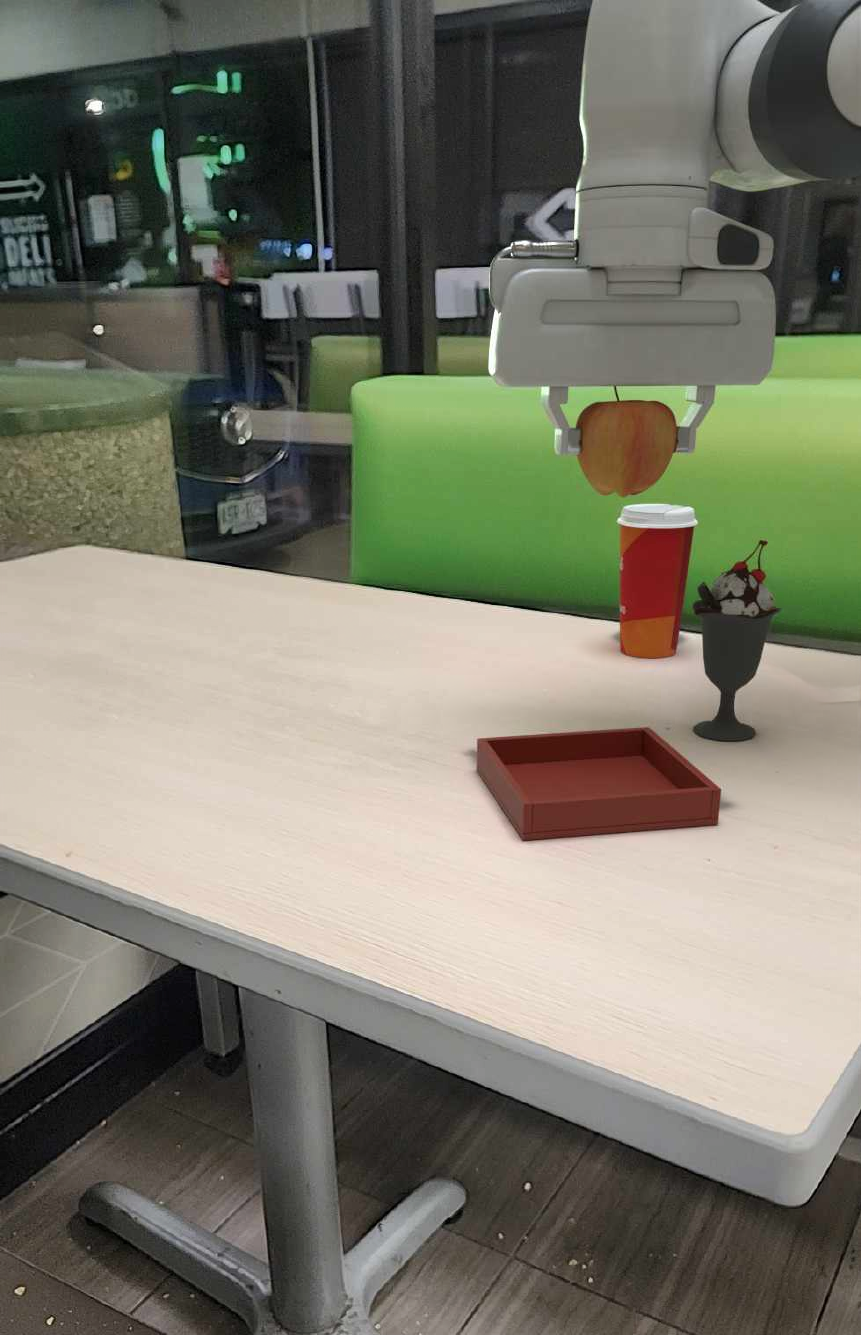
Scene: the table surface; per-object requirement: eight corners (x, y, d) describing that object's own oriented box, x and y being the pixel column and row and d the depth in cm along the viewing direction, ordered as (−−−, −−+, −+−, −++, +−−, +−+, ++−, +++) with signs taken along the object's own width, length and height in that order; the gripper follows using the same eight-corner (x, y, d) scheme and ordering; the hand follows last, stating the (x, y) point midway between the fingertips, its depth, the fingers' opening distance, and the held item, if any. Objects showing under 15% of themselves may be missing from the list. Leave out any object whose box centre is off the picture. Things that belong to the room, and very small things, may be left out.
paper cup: (644, 638, 122) (653, 500, 117) (702, 652, 117) (715, 508, 111) (592, 650, 118) (600, 507, 112) (651, 665, 112) (662, 516, 107)
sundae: (776, 726, 95) (799, 538, 89) (752, 750, 90) (774, 552, 84) (698, 714, 98) (714, 532, 92) (670, 736, 93) (686, 545, 87)
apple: (627, 505, 82) (635, 383, 79) (551, 495, 87) (555, 380, 84) (692, 496, 86) (702, 380, 83) (615, 487, 91) (622, 378, 88)
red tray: (646, 758, 88) (649, 726, 87) (718, 824, 76) (721, 789, 75) (476, 770, 86) (476, 738, 85) (522, 840, 74) (523, 804, 73)
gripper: (501, 236, 75) (496, 460, 81) (796, 240, 78) (772, 455, 84) (480, 242, 81) (476, 452, 86) (756, 246, 84) (736, 447, 90)
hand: (624, 453), depth 85 cm, fingers closed on apple, 7 cm apart
